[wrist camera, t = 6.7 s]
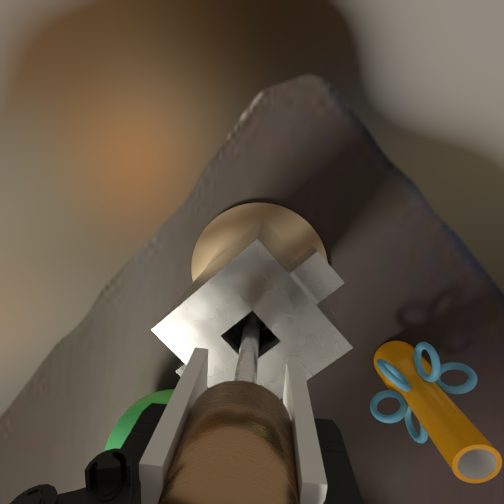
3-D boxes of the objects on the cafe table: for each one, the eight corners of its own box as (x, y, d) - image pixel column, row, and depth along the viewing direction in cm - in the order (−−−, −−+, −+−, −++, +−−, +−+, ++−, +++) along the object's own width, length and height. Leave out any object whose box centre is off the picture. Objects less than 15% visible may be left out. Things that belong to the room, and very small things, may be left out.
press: (327, 264, 34) (382, 327, 18) (237, 335, 37) (213, 445, 20) (277, 205, 33) (286, 213, 17) (188, 282, 36) (121, 355, 19)
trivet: (354, 277, 35) (356, 279, 34) (252, 354, 38) (252, 358, 37) (265, 172, 33) (265, 171, 32) (166, 263, 36) (164, 264, 35)
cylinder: (360, 316, 36) (424, 397, 21) (439, 320, 36) (560, 406, 21) (351, 394, 39) (402, 514, 24) (425, 398, 38) (523, 524, 23)
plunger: (304, 298, 27) (402, 566, 7) (252, 338, 28) (218, 658, 9) (259, 246, 26) (233, 393, 6) (207, 290, 27) (57, 522, 8)
